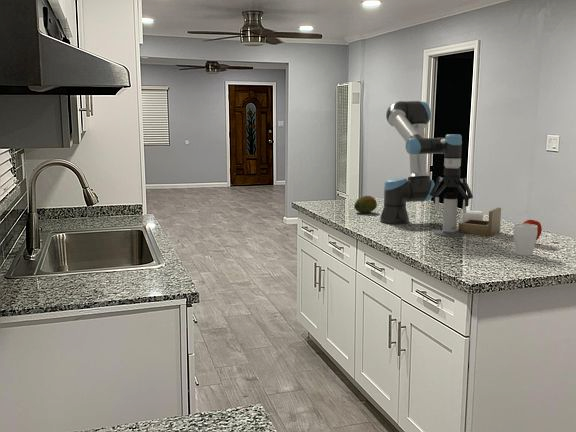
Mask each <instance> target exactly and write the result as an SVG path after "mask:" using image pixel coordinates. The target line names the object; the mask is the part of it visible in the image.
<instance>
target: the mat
mask: <svg viewBox="0 0 576 432" xmlns="http://www.w3.org/2000/svg"><path fill="white" fill-rule="evenodd" d="M433 233H434V235H435V236H441V237H446V238H447V237H449V238H457V237H459V238H460V237H463V236H465V235H466V234H465V233H460V232H459V230H456V233H455V234H445V233H443V229H442V230H441V229H440V230H439V229H438V230H435V231H434V232H433Z"/></svg>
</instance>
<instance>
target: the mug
mask: <svg viewBox="0 0 576 432" xmlns="http://www.w3.org/2000/svg"><path fill="white" fill-rule="evenodd" d="M483 213H484V212H483V211H482V210H466V213H465V214H463V210H461V212H460V215H461V216H460V222H463V221H465V220H467V219H474V220H484V214H483Z"/></svg>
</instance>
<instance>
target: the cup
mask: <svg viewBox="0 0 576 432" xmlns="http://www.w3.org/2000/svg"><path fill="white" fill-rule="evenodd" d="M536 238H537V225H533V224H523V223H515V224H514V225H513V243H514V244H513V245H514V253H515V255H516V256H520V255H521V256H523V257H531V256H533V254H534V251H535V246H536V242H537V240H536Z"/></svg>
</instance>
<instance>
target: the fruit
mask: <svg viewBox="0 0 576 432" xmlns="http://www.w3.org/2000/svg"><path fill="white" fill-rule="evenodd" d="M353 207H354V210H356V212H359V213H362V214H366V213H371V212H373V211H375V210H376V209H377V208H378V202H377V200H376V199H375V197H373V196H371V195H364V196H361V197H360V198H358V199H357V200H355V202H354V206H353Z"/></svg>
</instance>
